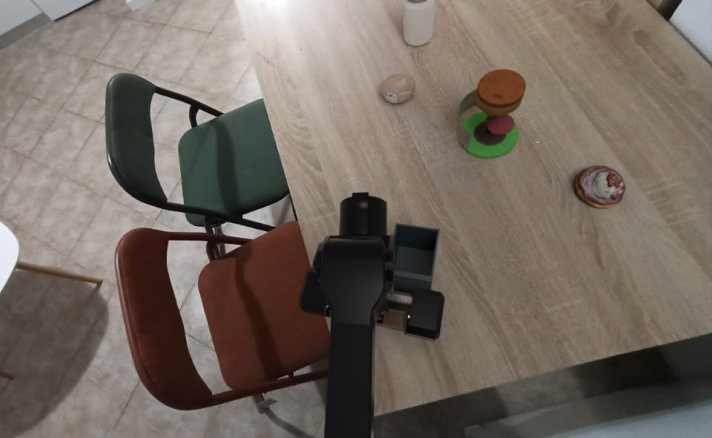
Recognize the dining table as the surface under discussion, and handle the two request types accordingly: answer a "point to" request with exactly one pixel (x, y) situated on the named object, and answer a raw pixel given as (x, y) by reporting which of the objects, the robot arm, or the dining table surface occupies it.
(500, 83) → the toy burger
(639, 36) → the dining table surface
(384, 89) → the beige rounded lump
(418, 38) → the can
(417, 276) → the bin
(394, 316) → the metal block
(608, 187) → the pastry
